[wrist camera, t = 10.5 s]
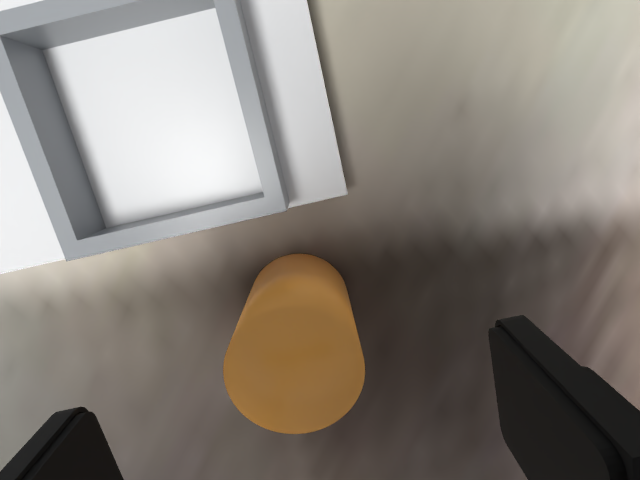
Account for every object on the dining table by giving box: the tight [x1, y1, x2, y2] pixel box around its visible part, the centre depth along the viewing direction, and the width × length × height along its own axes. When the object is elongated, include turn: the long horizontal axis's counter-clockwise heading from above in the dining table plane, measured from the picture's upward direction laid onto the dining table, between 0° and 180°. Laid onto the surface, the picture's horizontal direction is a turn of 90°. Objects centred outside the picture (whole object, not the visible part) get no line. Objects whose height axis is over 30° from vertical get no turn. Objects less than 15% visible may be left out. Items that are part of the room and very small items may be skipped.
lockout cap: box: [223, 254, 365, 434], centre depth 16 cm, size 4×4×6 cm
